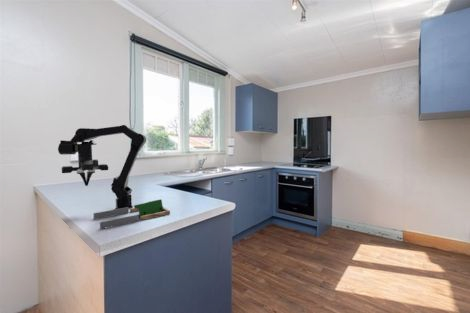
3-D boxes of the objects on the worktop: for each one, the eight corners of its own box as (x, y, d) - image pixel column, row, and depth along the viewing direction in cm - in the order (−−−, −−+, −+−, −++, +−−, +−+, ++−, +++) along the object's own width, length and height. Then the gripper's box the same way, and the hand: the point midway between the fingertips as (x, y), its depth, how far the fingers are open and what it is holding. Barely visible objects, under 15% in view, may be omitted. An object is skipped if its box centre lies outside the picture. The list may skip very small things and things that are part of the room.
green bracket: (153, 219, 109) (157, 201, 113) (161, 219, 106) (164, 200, 110) (130, 216, 101) (135, 196, 104) (137, 215, 97) (142, 194, 101)
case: (128, 212, 107) (127, 207, 107) (138, 220, 95) (138, 214, 95) (93, 218, 98) (93, 213, 98) (100, 229, 86) (100, 222, 86)
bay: (157, 206, 116) (157, 204, 116) (169, 213, 104) (169, 210, 104) (130, 211, 107) (130, 208, 107) (140, 220, 95) (140, 216, 95)
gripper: (62, 155, 98) (63, 191, 99) (110, 154, 110) (111, 185, 111) (60, 154, 106) (62, 187, 107) (105, 153, 118) (106, 182, 119)
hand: (86, 185), depth 111 cm, fingers closed
